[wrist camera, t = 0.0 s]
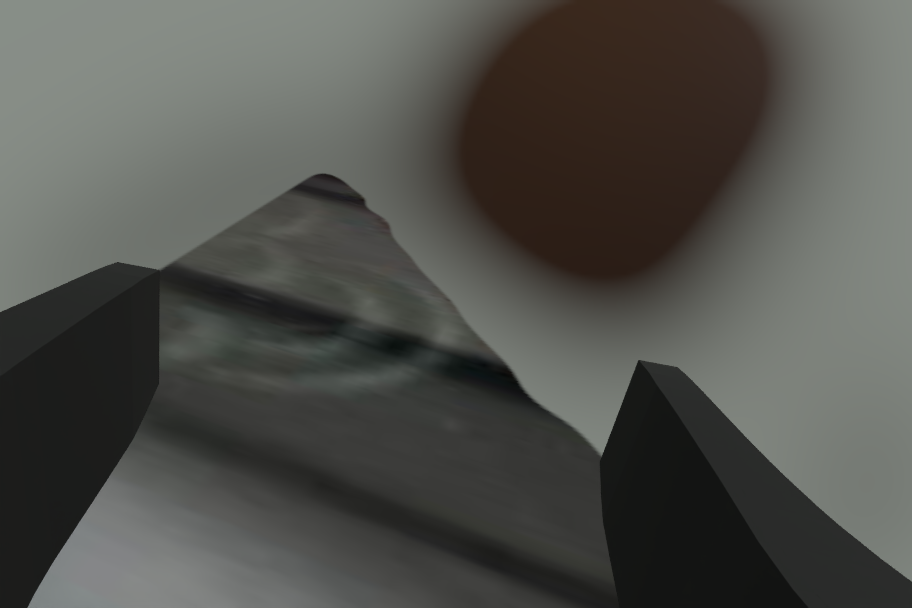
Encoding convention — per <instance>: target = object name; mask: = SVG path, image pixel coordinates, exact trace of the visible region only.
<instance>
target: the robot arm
mask: <svg viewBox="0 0 912 608" xmlns="http://www.w3.org/2000/svg"><path fill="white" fill-rule="evenodd" d="M159 276H160V270H156V269H151V268H146V267H140V266H135V265H130V264H124V263H119V262H117V263H114V264H111V265H108V266H105V267H103V268H100V269H98V270H95V271H93V272H90V273H88V274H86V275H84V276H81V277H79V278H77V279H75V280H72V281H70V282H68V283H66V284H63V285H61V286H59V287H57V288H54V289H52V290H50V291H48V292H45V293H43V294H41V295H38V296H36V297H34V298H32V299H29V300H27V301H25V302H23V303H20V304H18V305H16V306H13V307H11V308H9V309H7V310H4V311H2V312H0V608H27V607H28V605H29V603H30V601H31V600H32V598H33V596H34V594H35V592H36V590H37V588H38V587H39V585H40V583H41V582H42V580H43V578H44V577H45V575H46V573H47V571H48V570H49V568H50V566H51V565H52V563H53V561H54V560H55V558H56V557H57V555H58V554H59V552H60V551H61V549H62V548H63V546H64V545H65V543H66V542H67V540H68V539H69V537H70V536H71V534H72V532H73V531H74V529H75V528H76V526H77V525H78V523H79V522H80V520H81V519H82V517H83V516H84V514H85V513H86V511H87V510H88V508H89V507H90V505H91V504H92V502H93V500H94V499H95V497H96V496H97V494H98V493H99V491H100V490H101V488H102V487H103V485H104V484H105V482H106V481H107V479H108V478H109V476H110V474H111V473H112V471H113V470H114V468H115V467H116V465H117V464H118V462H119V460H120V459H121V457H122V456H123V454H124V453H125V451H126V450H127V448H128V446H129V445H130V443H131V442H132V440H133V438H134V436H135V434H136V432H137V430H138V428H139V426H140V424H141V422H142V420H143V417H144V415H145V413H146V411H147V409H148V407H149V404H150V402H151V400H152V398H153V395H154V393H155V391H156V389H157V387H158V384H159ZM600 478H601V499H602V514H603V524H604V529H605V535H606V540H607V545H608V551H609V556H610V561H611V566H612V571H613V576H614V581H615V586H616V591H617V596H618V601H619V606H620V608H912V582H911V581H910V580H909V579H907V578H906V577H904V576H903V575H902V574H901V573H899V572H898V571H896V570H895V569H894V568H892V567H891V566H890V565H888V564H887V563H886V562H884V561H883V560H882V559H880V558H879V557H878V556H877V555H875V554H874V553H873V552H871V550H869V549H868V548H867V547H866V546H864V545H863V544H862V543H861V542H859V541H858V540H857V539H855V538H854V537H853V536H852V535H851V534H849V533H848V532H847V531H846V530H844V529H843V528H842V527H841V526H839V525H838V524H837V523H836V522H835V521H834V520H832V519H831V518H830V517H829V516H828V515H827V514H825V513H824V512H823V511H822V510H821V509H820V508H819V507H817V506H816V505H815V504H814V503H813V502H812V501H811V500H810V499H809V498H808V497H807V496H806V495H804V494H803V493H802V492H801V491H800V490H799V489H798V488H797V487H796V486H795V485H794V484H793V483H792V482H790V481H789V480H788V479H787V478H786V477H785V476H784V475H783V474H782V473H781V472H780V471H779V470H778V469H777V468H776V467H775V466H774V465H773V464H772V463H771V462H769V460H768V459H767V458H766V457H765V456H764V455H763V454H762V453H761V452H760V451H759V450H758V449H757V448H756V447H755V446H754V445H753V444H752V443H751V442H750V441H749V440H748V439H747V438H746V437H745V436H744V435H743V434H742V433H741V432H740V430H738V428H737V427H736V426H735V425H734V424H733V423H732V422H731V421H730V420H729V419H728V418H727V417H726V416H725V415H724V414H723V413H722V412H721V410H720V409H719V408H718V407H717V406H716V405H715V404H714V403H713V402H712V401H711V400H710V399H709V398H708V397H707V396H706V395H705V394H704V392H703V391H702V390H701V389H700V388H699V387H698V386H697V385H696V384H695V383H694V382H693V381H692V380H691V379H690V378H689V377H688V376H686V374H685V373H683V372H682V371H681V370H680V369H679V368H678V367H673V366H668V365H662V364H657V363H651V362H646V361H641V360H639V361H638V363H637V366H636V368H635V371H634V373H633V376H632V379H631V381H630V384H629V387H628V389H627V392H626V395H625V397H624V400H623V403H622V405H621V408H620V410H619V413H618V416H617V418H616V421H615V424H614V426H613V429H612V431H611V434H610V437H609V439H608V442H607V444H606V447H605V450H604V452H603V455H602V458H601V460H600Z"/></svg>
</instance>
